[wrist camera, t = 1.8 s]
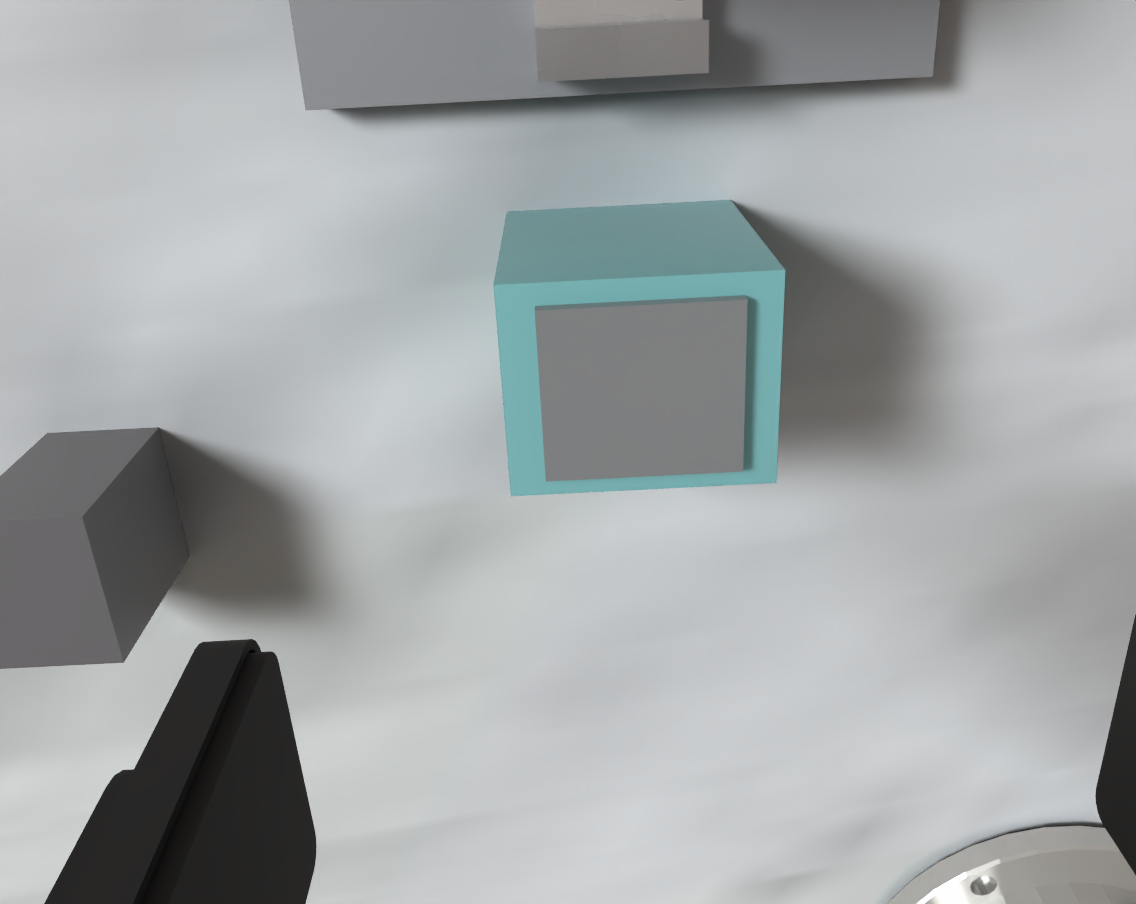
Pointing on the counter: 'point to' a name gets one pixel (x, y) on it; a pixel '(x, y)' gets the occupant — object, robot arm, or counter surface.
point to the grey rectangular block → (85, 546)
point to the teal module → (638, 348)
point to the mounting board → (509, 71)
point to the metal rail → (619, 38)
